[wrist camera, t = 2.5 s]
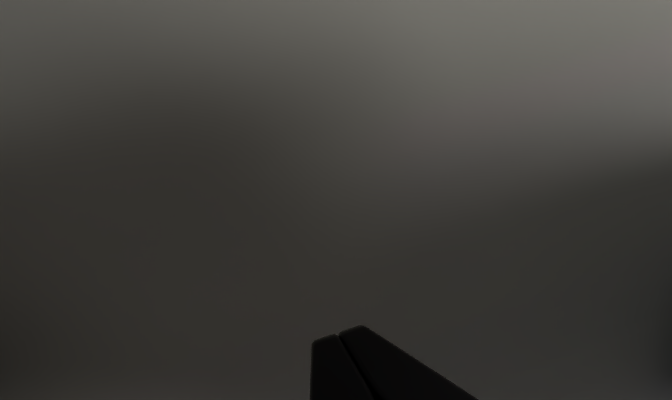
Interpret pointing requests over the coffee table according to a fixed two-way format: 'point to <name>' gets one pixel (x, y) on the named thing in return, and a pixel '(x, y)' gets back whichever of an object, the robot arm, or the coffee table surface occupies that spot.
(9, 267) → the coffee table surface
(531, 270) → the coffee table surface
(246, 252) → the coffee table surface
